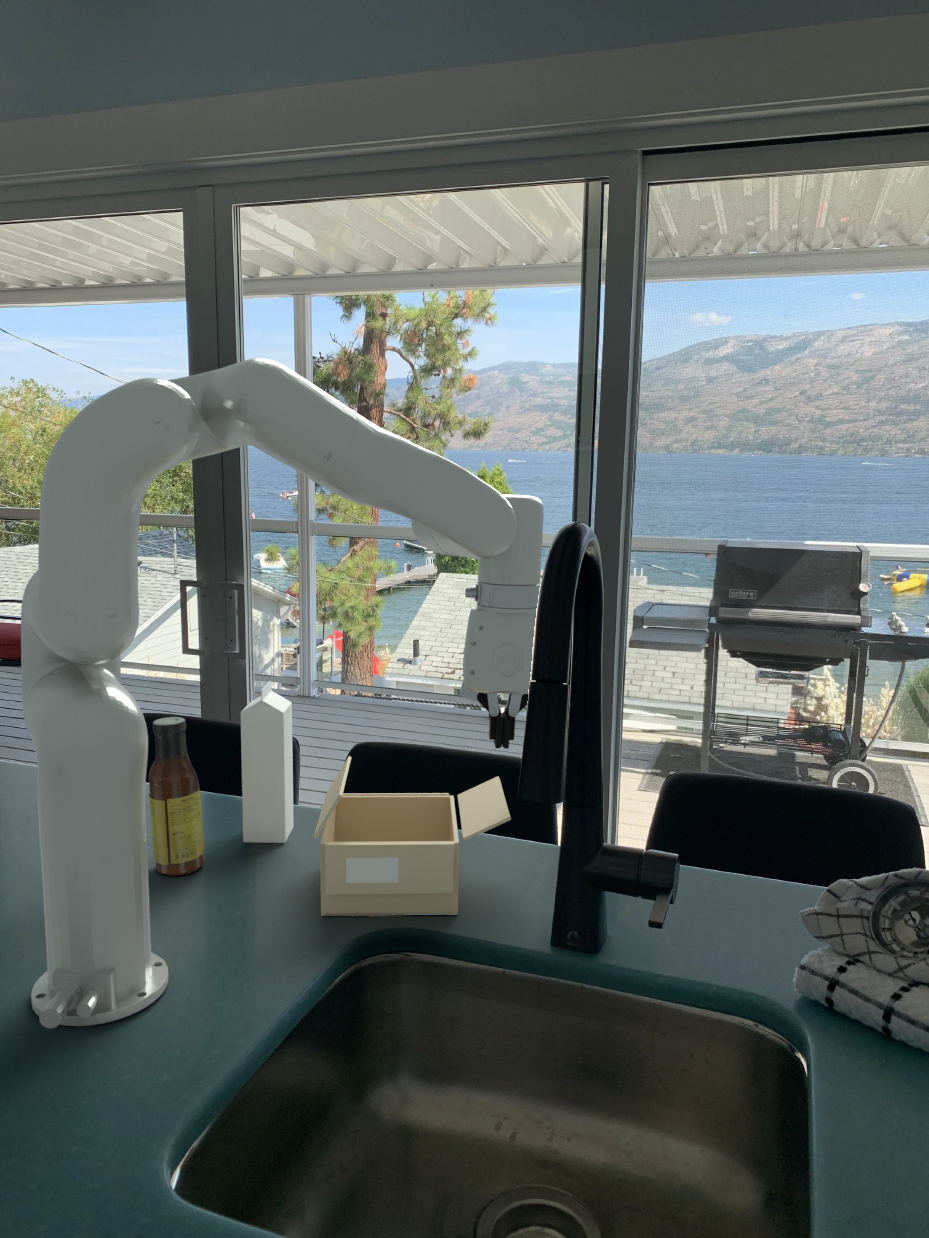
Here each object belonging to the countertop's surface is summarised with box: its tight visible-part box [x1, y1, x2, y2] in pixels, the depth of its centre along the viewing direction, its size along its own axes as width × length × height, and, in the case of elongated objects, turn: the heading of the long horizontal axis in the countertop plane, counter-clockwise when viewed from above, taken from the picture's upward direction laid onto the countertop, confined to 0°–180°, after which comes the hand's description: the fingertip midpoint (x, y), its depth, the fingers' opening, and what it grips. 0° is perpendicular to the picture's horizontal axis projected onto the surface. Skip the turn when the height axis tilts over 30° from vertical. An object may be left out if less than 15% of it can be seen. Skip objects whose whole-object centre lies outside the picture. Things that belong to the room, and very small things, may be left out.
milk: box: [240, 680, 295, 844], centre depth 128 cm, size 6×6×22 cm
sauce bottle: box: [148, 716, 205, 877], centre depth 117 cm, size 7×6×20 cm
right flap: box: [457, 775, 512, 842], centre depth 113 cm, size 15×6×1 cm, turn 3°
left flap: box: [313, 755, 352, 840], centre depth 112 cm, size 15×6×1 cm
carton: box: [319, 792, 460, 918], centre depth 113 cm, size 17×16×9 cm
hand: (501, 745), depth 112 cm, fingers closed
